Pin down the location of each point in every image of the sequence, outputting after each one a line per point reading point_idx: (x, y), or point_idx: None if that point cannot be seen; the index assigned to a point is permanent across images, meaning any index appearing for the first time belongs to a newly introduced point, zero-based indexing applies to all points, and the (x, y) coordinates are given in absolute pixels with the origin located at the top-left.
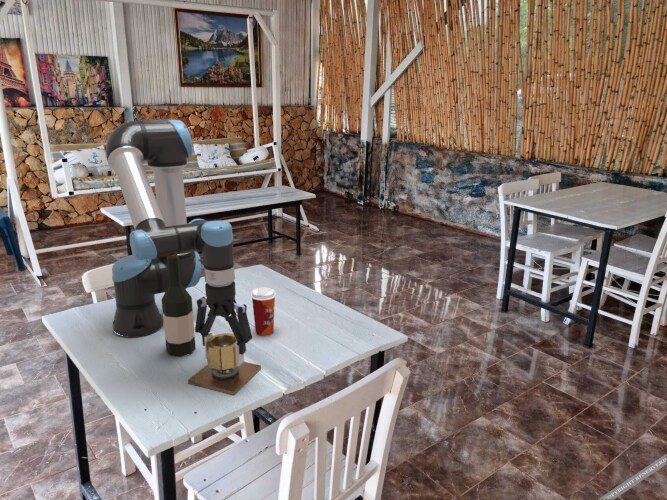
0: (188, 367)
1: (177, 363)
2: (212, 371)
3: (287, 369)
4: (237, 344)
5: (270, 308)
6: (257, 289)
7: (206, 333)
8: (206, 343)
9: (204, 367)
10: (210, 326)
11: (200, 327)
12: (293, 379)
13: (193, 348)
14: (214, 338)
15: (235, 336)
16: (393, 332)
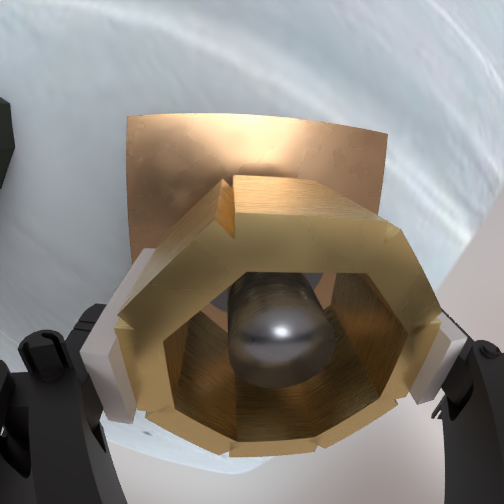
0: (67, 242)
1: (21, 233)
2: (217, 307)
3: (459, 120)
4: (436, 410)
5: None
6: None
7: (94, 416)
8: (175, 433)
9: (134, 245)
10: (105, 478)
11: (12, 425)
12: (484, 181)
13: (4, 122)
14: (166, 359)
15: (449, 445)
16: None
